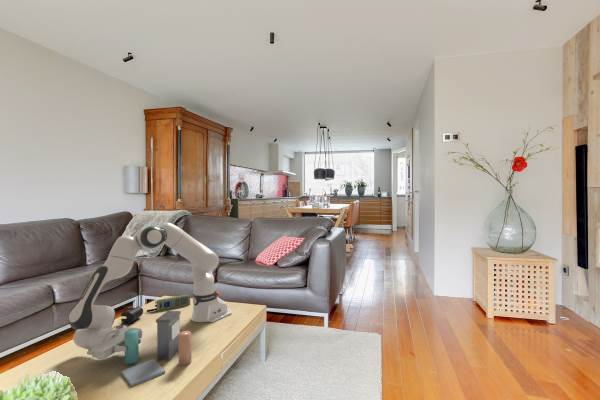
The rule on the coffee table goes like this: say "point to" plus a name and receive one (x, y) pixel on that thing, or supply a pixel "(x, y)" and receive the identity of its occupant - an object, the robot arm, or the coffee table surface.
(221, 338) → the coffee table surface
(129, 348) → the teal canister
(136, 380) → the mat
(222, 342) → the coffee table surface
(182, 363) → the terracotta canister
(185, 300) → the handheld radio
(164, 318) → the block
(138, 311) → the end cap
